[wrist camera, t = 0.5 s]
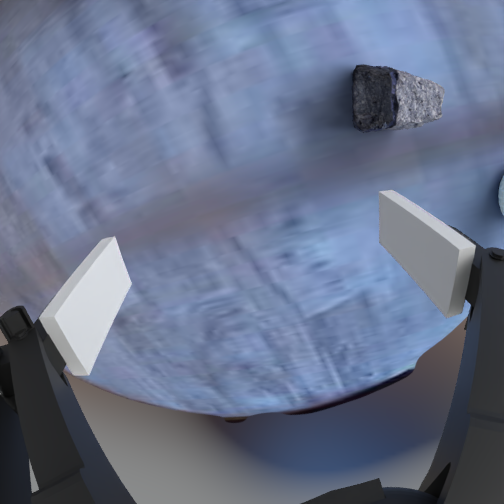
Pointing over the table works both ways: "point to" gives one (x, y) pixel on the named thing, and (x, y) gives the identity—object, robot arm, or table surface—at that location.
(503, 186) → the vase
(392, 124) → the stone
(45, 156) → the table surface
